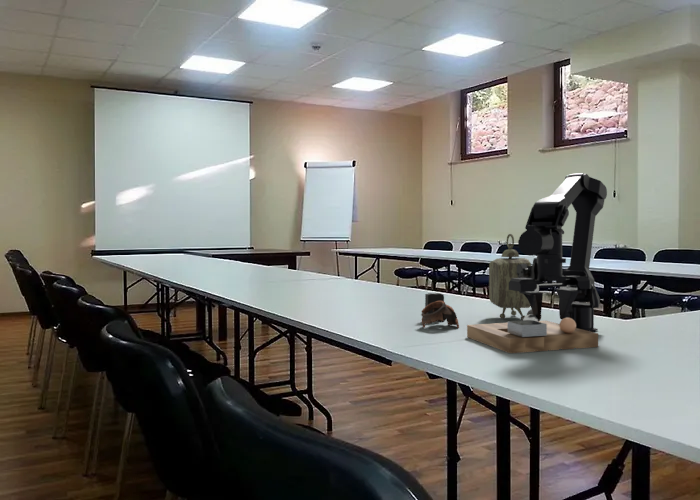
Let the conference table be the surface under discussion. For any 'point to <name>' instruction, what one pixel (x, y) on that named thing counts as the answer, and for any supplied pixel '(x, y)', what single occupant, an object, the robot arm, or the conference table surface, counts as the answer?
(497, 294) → the tabletop clock
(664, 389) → the conference table surface
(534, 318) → the steel ball
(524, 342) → the walnut deck
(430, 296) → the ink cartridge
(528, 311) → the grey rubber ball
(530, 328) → the brushed grey metal box
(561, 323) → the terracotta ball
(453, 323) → the brown arched legged figurine
